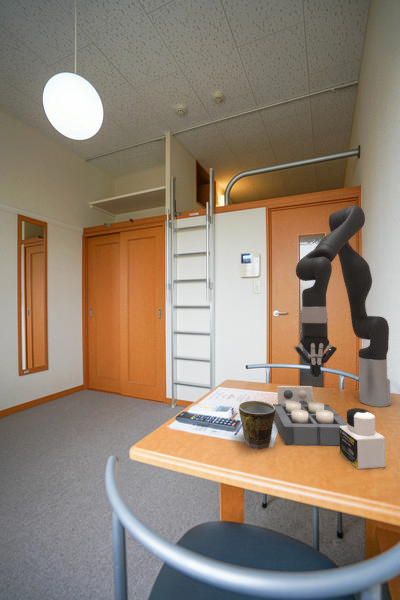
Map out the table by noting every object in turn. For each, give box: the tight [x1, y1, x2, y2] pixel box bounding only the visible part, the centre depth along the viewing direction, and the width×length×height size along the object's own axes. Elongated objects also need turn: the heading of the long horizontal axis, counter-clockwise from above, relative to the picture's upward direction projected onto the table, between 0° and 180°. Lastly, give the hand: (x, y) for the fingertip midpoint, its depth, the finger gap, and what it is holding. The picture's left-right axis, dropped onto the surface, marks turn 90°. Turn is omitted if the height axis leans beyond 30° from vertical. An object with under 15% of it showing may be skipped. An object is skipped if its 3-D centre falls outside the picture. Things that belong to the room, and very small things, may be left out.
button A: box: [308, 400, 325, 414], centre depth 87 cm, size 5×5×3 cm
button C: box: [286, 401, 301, 414], centre depth 87 cm, size 5×5×3 cm
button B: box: [316, 410, 334, 424], centre depth 80 cm, size 5×5×3 cm
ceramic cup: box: [238, 400, 275, 450], centre depth 76 cm, size 13×10×10 cm
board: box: [272, 403, 347, 447], centre depth 83 cm, size 18×17×5 cm
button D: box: [291, 409, 308, 424], centre depth 80 cm, size 5×5×3 cm
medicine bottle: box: [339, 407, 387, 470], centre depth 68 cm, size 7×7×12 cm
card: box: [277, 385, 314, 404], centre depth 98 cm, size 12×1×9 cm, turn 86°
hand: (315, 376), depth 87 cm, fingers closed
